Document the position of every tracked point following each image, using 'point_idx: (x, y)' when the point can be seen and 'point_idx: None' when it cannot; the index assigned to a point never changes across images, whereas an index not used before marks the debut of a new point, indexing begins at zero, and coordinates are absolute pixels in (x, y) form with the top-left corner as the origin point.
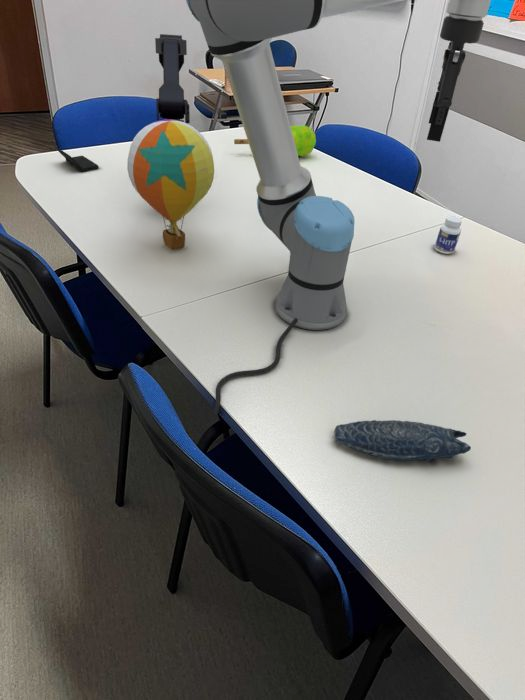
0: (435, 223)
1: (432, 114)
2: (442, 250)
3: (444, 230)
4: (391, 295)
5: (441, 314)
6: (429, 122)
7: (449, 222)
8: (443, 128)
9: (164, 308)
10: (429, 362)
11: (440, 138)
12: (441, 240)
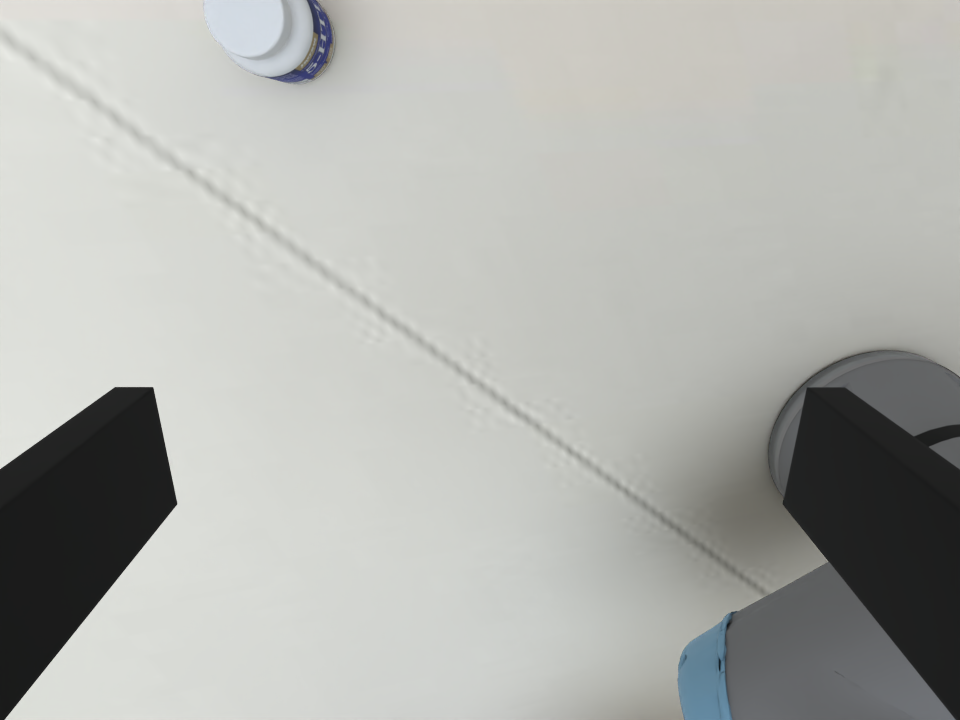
0: (34, 81)
1: (123, 548)
2: (332, 48)
3: (301, 57)
4: (728, 228)
5: (812, 45)
6: (172, 502)
7: (282, 38)
8: (936, 455)
9: None
10: None
11: (865, 404)
12: (316, 61)
